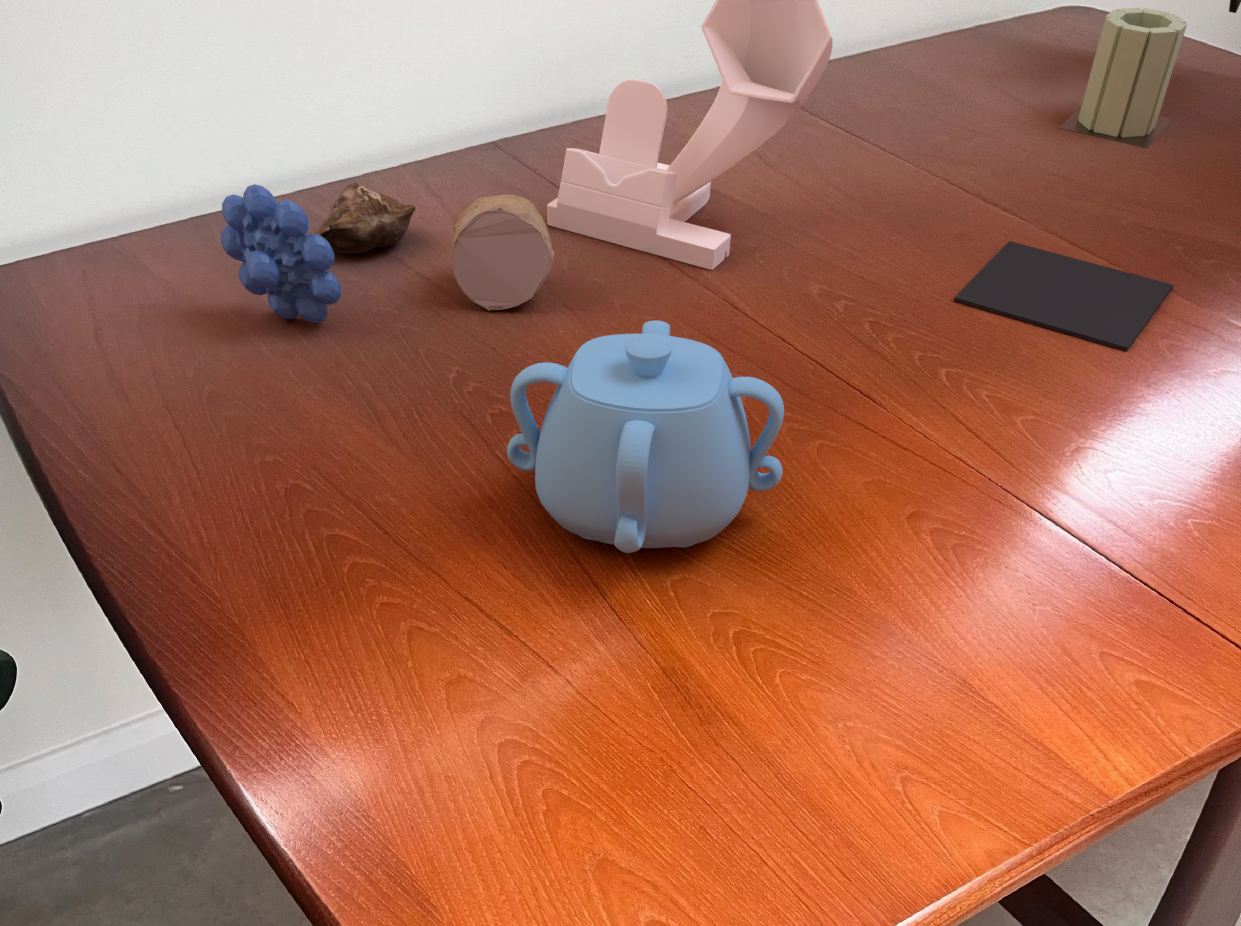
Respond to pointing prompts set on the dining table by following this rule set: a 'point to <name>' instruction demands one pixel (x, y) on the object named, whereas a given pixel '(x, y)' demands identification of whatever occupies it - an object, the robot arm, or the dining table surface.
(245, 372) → the dining table surface
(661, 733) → the dining table surface
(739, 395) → the decorative pot
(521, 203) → the bark-rimmed wood disc
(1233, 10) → the robot arm
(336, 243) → the fossilized seashell
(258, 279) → the grapes
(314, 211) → the dining table surface
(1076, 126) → the stand
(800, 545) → the dining table surface
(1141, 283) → the mat
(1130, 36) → the fluted octagonal tube
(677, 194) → the phone horn amplifier
